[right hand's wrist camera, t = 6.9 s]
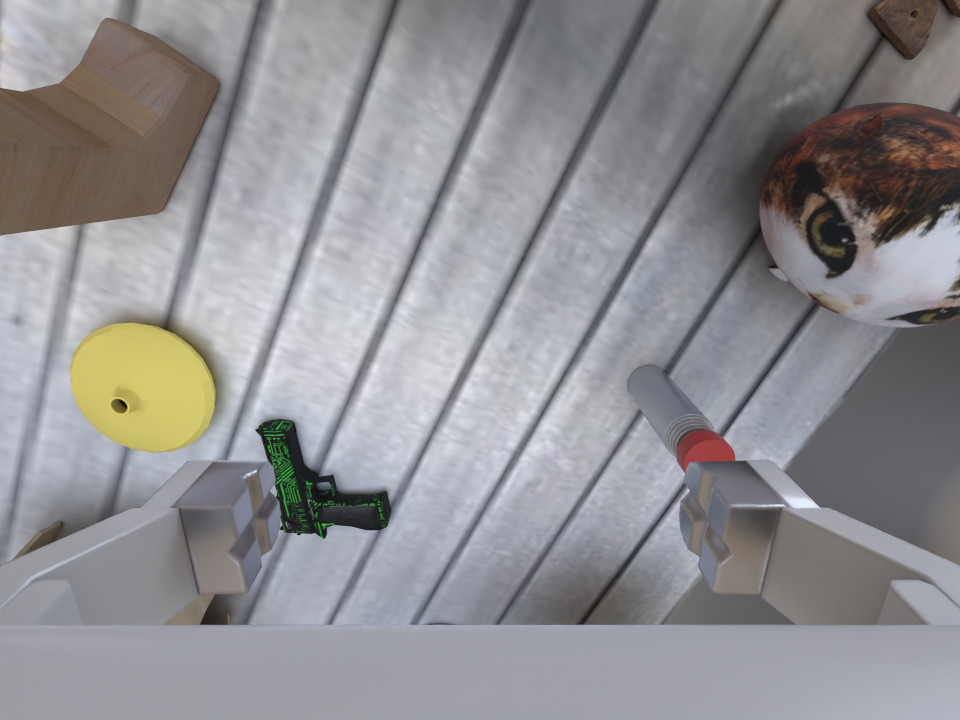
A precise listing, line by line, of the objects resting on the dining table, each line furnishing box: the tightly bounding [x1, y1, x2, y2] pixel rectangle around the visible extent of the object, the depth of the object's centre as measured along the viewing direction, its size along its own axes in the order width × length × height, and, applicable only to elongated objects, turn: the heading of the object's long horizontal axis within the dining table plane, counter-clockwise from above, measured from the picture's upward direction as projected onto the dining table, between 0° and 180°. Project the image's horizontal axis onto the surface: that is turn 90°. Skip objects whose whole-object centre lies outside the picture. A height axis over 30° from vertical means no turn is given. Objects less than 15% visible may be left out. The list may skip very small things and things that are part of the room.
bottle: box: [628, 365, 715, 457], centre depth 53 cm, size 5×5×17 cm
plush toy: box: [760, 103, 960, 327], centre depth 48 cm, size 22×18×20 cm
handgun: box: [255, 419, 391, 539], centre depth 64 cm, size 16×3×15 cm
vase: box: [70, 323, 216, 453], centre depth 58 cm, size 16×16×7 cm
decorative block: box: [0, 18, 219, 235], centre depth 38 cm, size 8×15×30 cm, turn 145°
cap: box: [676, 430, 735, 473], centre depth 46 cm, size 4×4×2 cm
